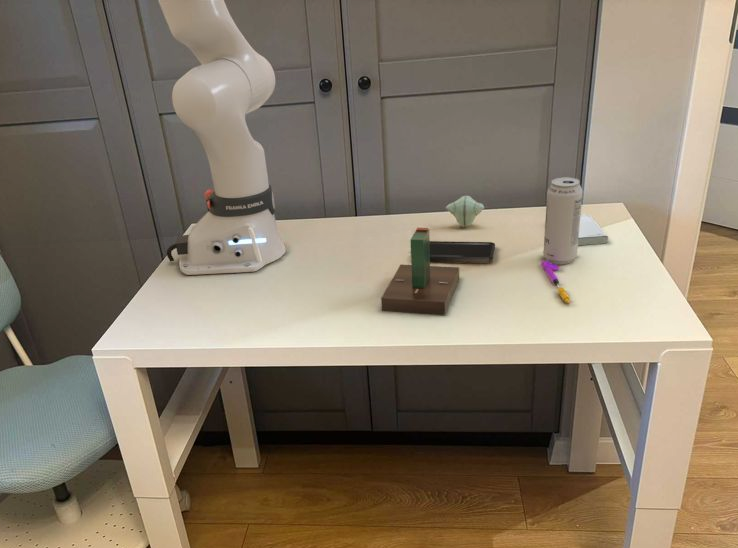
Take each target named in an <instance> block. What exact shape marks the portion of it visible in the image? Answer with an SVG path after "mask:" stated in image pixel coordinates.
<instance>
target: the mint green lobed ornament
mask: <svg viewBox="0 0 738 548" xmlns="http://www.w3.org/2000/svg"><path fill="white" fill-rule="evenodd" d="M445 209H446V210H447V211H448V212H449V213H450V214H451V215H452V216H453V217H454V218H455V220H456V222H457V223H458V224H459V226H460V227H462V228H468V227H470V226H471V225H472V224H473V223H474V222H475V220H476V217H477V216H479V215H480V214H481V213H482V212H483V210H484V209H485V206H484V204H483V203H481V202H477V201H476V200H475V199H473V198H472V196H469V195H463V196H462V195H461V196H460V198H458V199H457V200H455V201H453V202H451V203H448V205H447V206H445Z"/></svg>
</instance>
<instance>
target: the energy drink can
mask: <svg viewBox="0 0 738 548" xmlns="http://www.w3.org/2000/svg"><path fill="white" fill-rule="evenodd" d="M583 193H584V190H583V188H582V186H581V181H580V179H579V178H575V177H571V176H570V177H568V176H566V177H557V178H554V179H552V180H551V184H550V186H549V187H548V188H547V191H546V205H545V223H544V238H543V252H542V254H543V257H545V261H549V262H550V263H551V264H556V265H569V264H571V263H573V262H574V260H575V259H576V258H577V256H578V249H579V245H578V238H579V227H580V215H581V214H582V203H583Z"/></svg>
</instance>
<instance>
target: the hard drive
mask: <svg viewBox="0 0 738 548" xmlns="http://www.w3.org/2000/svg"><path fill="white" fill-rule="evenodd" d="M608 242H609V236H608V235H607V232H605V231H604V230H603V228H602V227H601V226H600V225H599V224H598V223H597V221H596V220H595V219H594V218H593V217H592V216H591V215H590V214H589V213H583V214H582V213H581V215H580V227H579V238H578V246H584V245H585V246H586V245H599V244H606V243H608Z"/></svg>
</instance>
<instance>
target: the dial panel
mask: <svg viewBox="0 0 738 548" xmlns="http://www.w3.org/2000/svg"><path fill="white" fill-rule="evenodd" d="M459 281H460V267H459V266H440V265H439V266H438V265H430V278H429V280H428V282H427V284H426V286H425V288H413V287H412V270H411V264H400V265H399V266H398V268H397V270H396V272H395V273H394V275H393V276H392V279H391V280H390V282H389V283H388V286H387V287H386V288H385V291H383V294H382V296H381V297H380V303H381V311H382V312H395V313H396V312H397V313H409V314H410V313H411V314H425V315H438V316H445V315H446V314H447V311H448V309H449V306H450V304H451V301H452V299H453V296H454V293H455V291H456V289H457V286H458V284H459Z"/></svg>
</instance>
